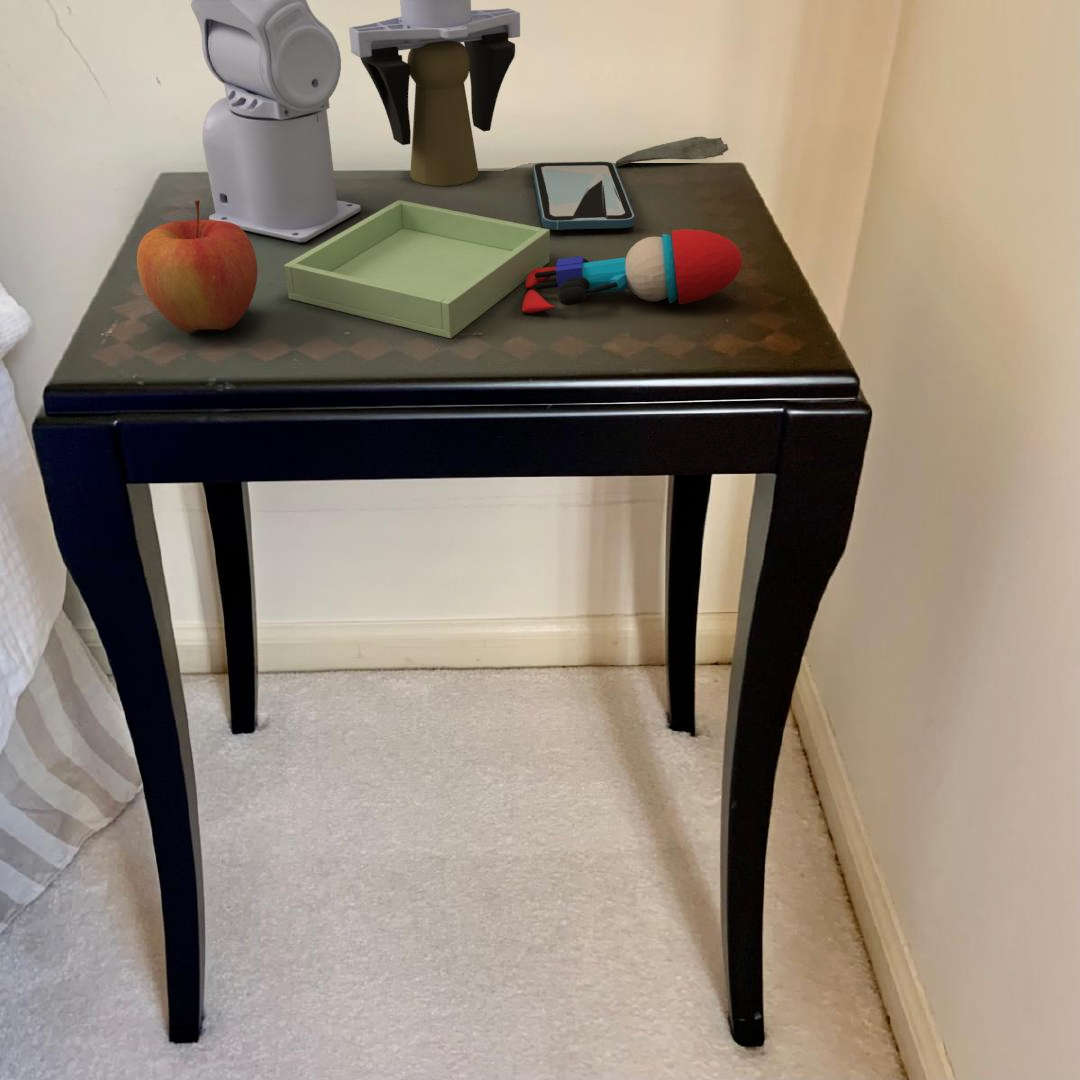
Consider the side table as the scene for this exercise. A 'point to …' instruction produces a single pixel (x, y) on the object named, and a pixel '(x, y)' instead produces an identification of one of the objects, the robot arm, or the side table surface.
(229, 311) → the apple
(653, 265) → the toy figure
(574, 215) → the smartphone
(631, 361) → the side table surface
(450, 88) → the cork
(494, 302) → the spice tray
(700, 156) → the stone
